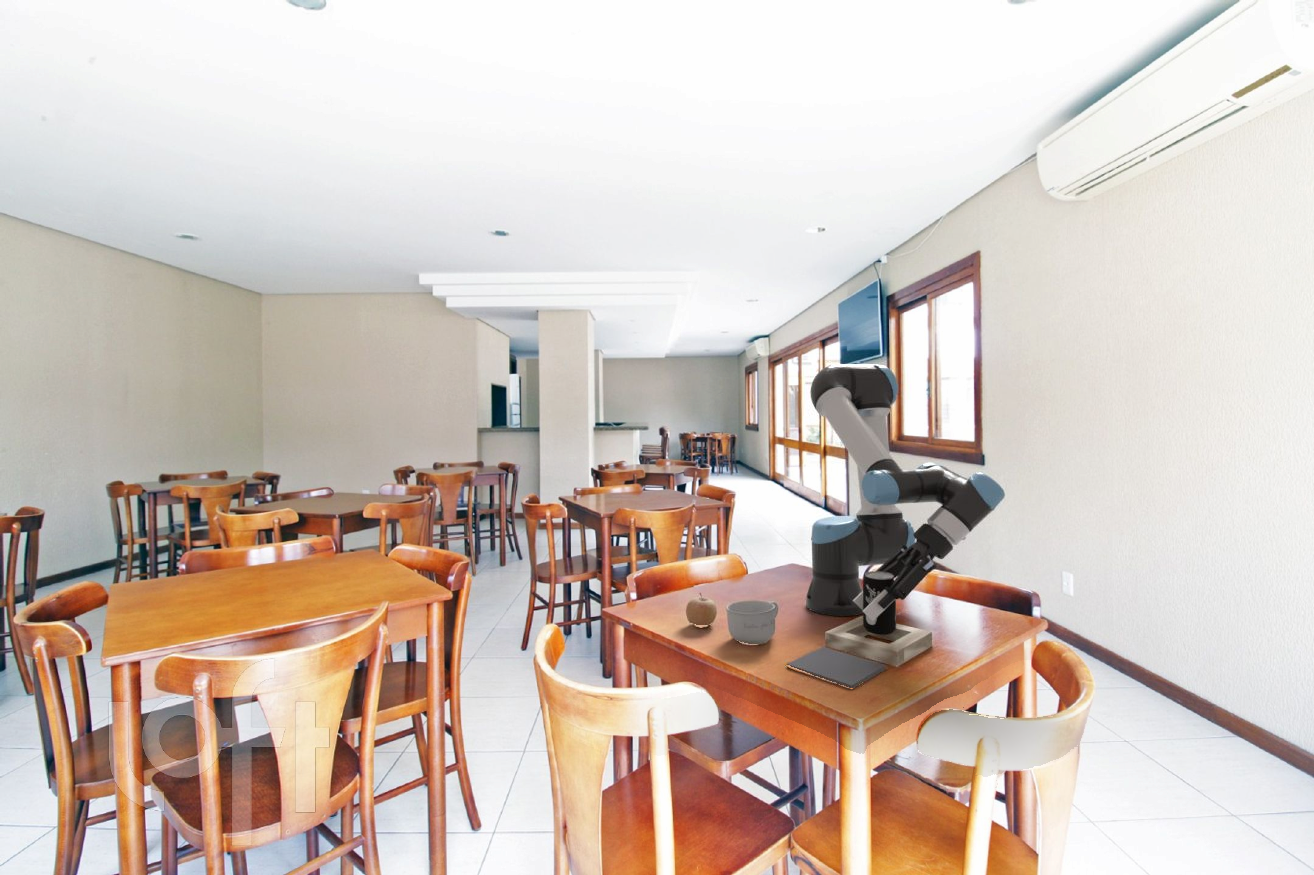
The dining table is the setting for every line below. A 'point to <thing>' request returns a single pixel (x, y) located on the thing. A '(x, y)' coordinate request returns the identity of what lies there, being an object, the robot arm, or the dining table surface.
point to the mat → (838, 666)
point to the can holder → (895, 653)
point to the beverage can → (871, 589)
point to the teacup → (752, 620)
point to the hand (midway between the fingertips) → (862, 610)
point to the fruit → (701, 611)
